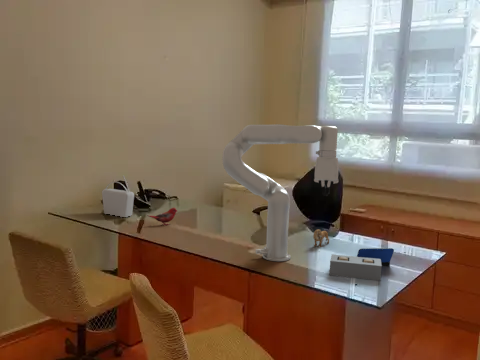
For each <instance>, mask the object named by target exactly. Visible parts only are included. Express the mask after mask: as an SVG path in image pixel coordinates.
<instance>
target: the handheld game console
mask: <svg viewBox="0 0 480 360" xmlns="http://www.w3.org/2000/svg"><path fill="white" fill-rule="evenodd" d="M394 253H395V248H391V247H390V248H388V247H387V248H386V247H385V248H382V247H381V248H380V247H379V248H377V247H376V248H359V250H358V251H357V255H356V257H365V258H376V259H381V265H382V267H385V266H386V267H389V266H390V265H391V260H392V257H393V255H394Z"/></svg>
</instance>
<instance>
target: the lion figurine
mask: <svg viewBox="0 0 480 360" xmlns="http://www.w3.org/2000/svg"><path fill="white" fill-rule="evenodd" d="M312 237H313V239H314V244H313V246H314V247H317V244H318V243H319V244H318V247H319V248H320V247H321V248H322V247H323V245H322V244H323V241H324V238H325V242H326V244H330V238H329V233H328V231H326V230H321V229H315V230H314V232H313V236H312Z"/></svg>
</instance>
